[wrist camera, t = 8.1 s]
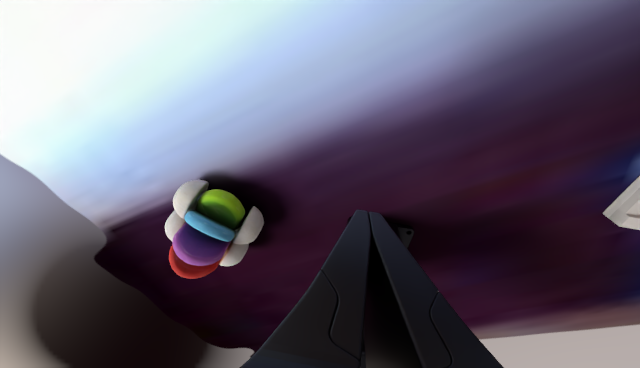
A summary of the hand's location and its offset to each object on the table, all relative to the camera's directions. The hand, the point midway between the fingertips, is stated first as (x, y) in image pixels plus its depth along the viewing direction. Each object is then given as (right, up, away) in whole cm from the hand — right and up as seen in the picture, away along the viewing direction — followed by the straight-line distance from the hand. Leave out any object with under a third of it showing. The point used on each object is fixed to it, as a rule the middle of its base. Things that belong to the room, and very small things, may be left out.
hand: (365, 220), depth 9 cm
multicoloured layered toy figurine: (-12, -2, +18) cm, 22 cm away
